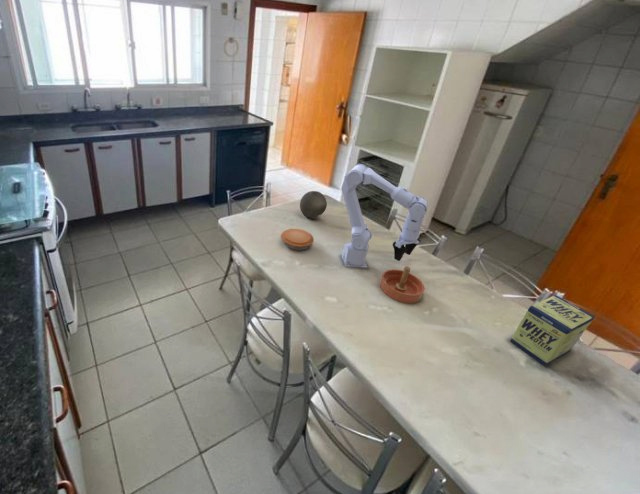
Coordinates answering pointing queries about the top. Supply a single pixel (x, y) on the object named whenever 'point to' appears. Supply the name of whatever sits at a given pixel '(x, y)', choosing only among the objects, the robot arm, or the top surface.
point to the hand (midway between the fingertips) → (402, 256)
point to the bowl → (412, 284)
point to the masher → (403, 281)
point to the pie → (297, 239)
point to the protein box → (551, 329)
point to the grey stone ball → (313, 204)
